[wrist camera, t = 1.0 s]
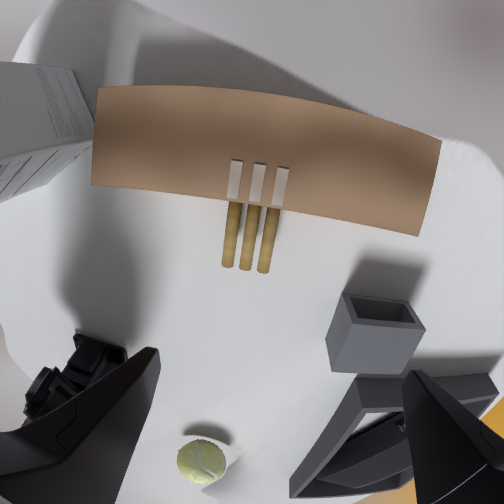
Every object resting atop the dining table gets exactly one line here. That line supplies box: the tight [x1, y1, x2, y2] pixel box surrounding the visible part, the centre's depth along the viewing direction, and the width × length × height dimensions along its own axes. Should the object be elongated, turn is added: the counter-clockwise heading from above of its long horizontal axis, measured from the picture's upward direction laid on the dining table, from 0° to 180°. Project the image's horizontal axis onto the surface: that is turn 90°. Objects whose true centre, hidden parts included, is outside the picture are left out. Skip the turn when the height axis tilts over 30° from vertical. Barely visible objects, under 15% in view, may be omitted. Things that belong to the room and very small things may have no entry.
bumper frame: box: [289, 373, 499, 498], centre depth 30 cm, size 28×21×4 cm
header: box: [92, 85, 442, 274], centre depth 17 cm, size 11×20×4 cm, turn 82°
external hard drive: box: [315, 412, 412, 488], centre depth 30 cm, size 13×19×4 cm
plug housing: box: [325, 293, 426, 374], centre depth 22 cm, size 5×6×4 cm
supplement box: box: [0, 62, 94, 203], centre depth 12 cm, size 7×7×13 cm
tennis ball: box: [177, 440, 226, 484], centre depth 31 cm, size 6×7×7 cm
